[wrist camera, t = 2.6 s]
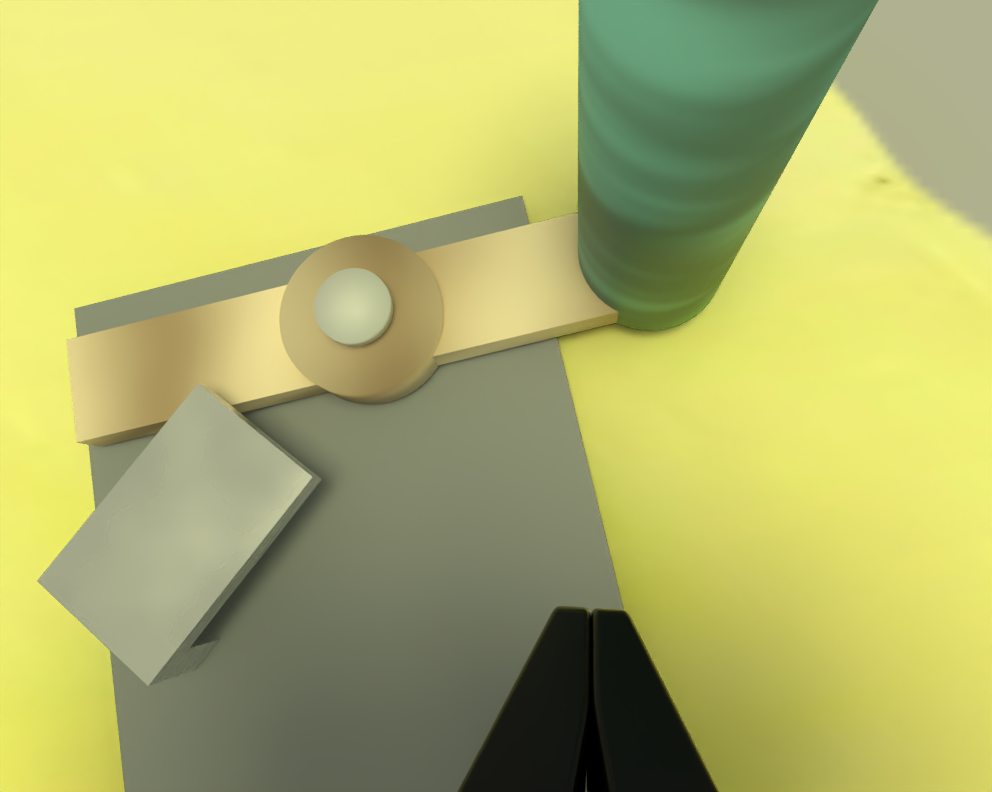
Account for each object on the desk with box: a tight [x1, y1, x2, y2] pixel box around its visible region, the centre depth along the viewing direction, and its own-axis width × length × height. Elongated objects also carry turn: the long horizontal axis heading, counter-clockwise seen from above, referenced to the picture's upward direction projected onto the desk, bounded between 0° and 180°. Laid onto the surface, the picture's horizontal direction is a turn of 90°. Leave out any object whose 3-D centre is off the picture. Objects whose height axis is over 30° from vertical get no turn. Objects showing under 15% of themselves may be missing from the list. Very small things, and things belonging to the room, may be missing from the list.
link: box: [66, 0, 878, 447], centre depth 15 cm, size 18×4×13 cm, turn 102°
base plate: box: [75, 196, 624, 792], centre depth 20 cm, size 18×14×3 cm
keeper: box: [38, 384, 322, 686], centre depth 20 cm, size 6×4×2 cm, turn 142°
